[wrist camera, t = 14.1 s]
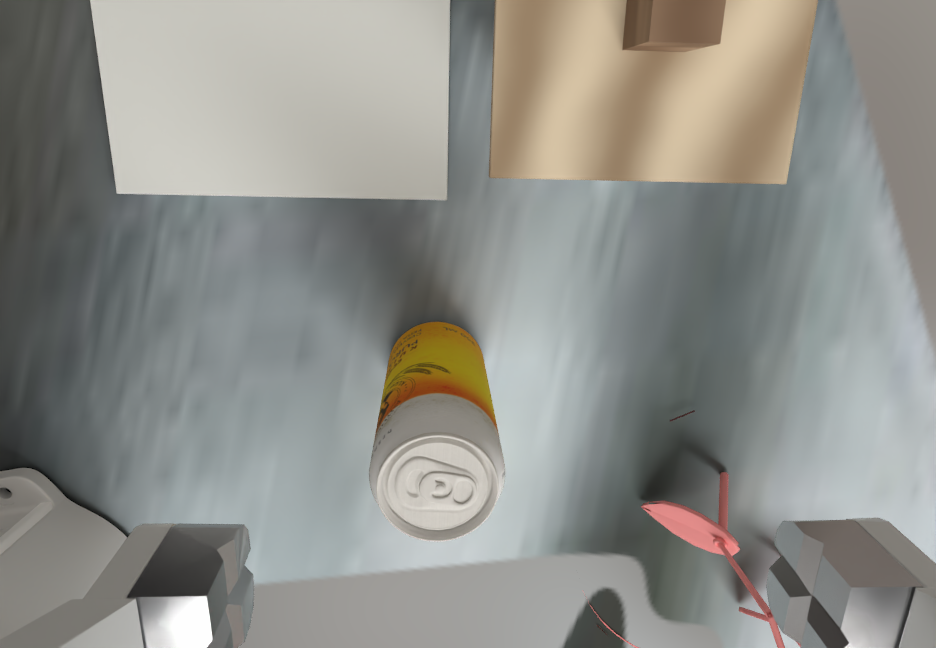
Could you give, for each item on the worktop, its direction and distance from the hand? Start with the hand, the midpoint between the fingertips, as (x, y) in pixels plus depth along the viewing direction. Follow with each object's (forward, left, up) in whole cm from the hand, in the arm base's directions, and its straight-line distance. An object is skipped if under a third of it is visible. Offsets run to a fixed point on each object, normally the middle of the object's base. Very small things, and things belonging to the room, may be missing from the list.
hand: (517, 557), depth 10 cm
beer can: (-1, -9, -31) cm, 33 cm away
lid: (+9, +11, -25) cm, 29 cm away
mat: (-10, +11, -31) cm, 34 cm away
